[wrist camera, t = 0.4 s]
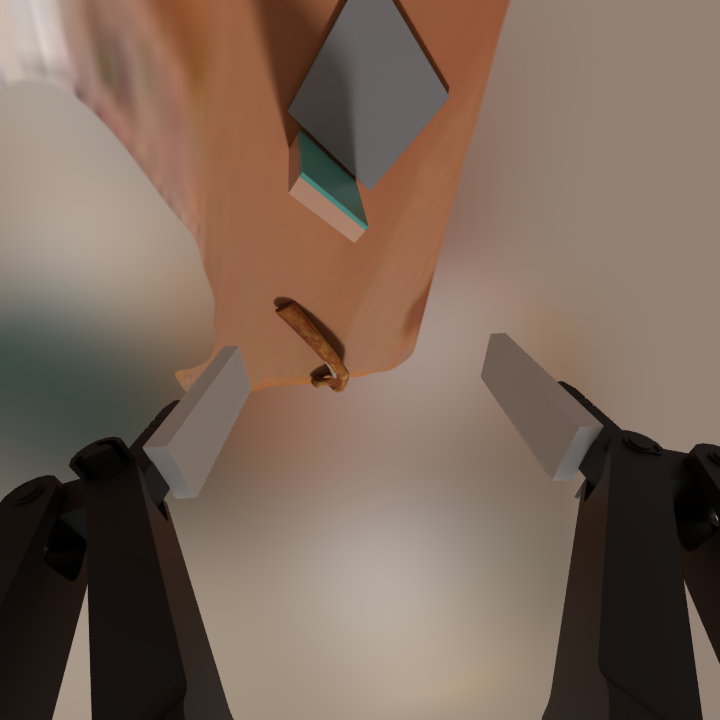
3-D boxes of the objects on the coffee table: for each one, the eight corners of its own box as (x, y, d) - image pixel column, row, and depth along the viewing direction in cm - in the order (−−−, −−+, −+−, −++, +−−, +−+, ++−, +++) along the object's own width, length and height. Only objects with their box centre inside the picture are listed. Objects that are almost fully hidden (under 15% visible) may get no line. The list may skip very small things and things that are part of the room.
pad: (287, 110, 31) (287, 112, 31) (367, -39, 24) (368, -39, 23) (369, 188, 39) (370, 191, 39) (447, 95, 32) (449, 96, 32)
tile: (288, 148, 34) (288, 193, 28) (300, 129, 33) (302, 171, 27) (344, 197, 40) (354, 242, 34) (356, 182, 38) (368, 227, 32)
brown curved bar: (268, 304, 55) (291, 332, 50) (304, 284, 57) (330, 309, 52) (312, 385, 82) (330, 410, 77) (335, 370, 84) (355, 392, 79)
